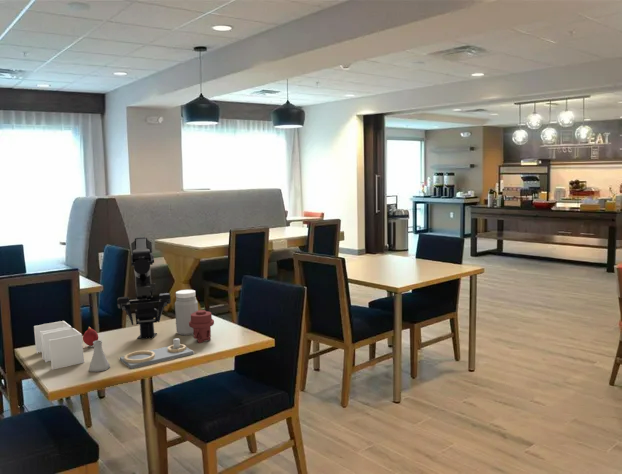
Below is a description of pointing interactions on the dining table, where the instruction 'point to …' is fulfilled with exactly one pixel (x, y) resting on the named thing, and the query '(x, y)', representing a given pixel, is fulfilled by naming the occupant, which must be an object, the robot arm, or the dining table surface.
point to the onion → (90, 337)
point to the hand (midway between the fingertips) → (145, 323)
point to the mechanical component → (201, 325)
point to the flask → (98, 358)
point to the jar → (185, 310)
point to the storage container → (59, 344)
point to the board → (156, 355)
